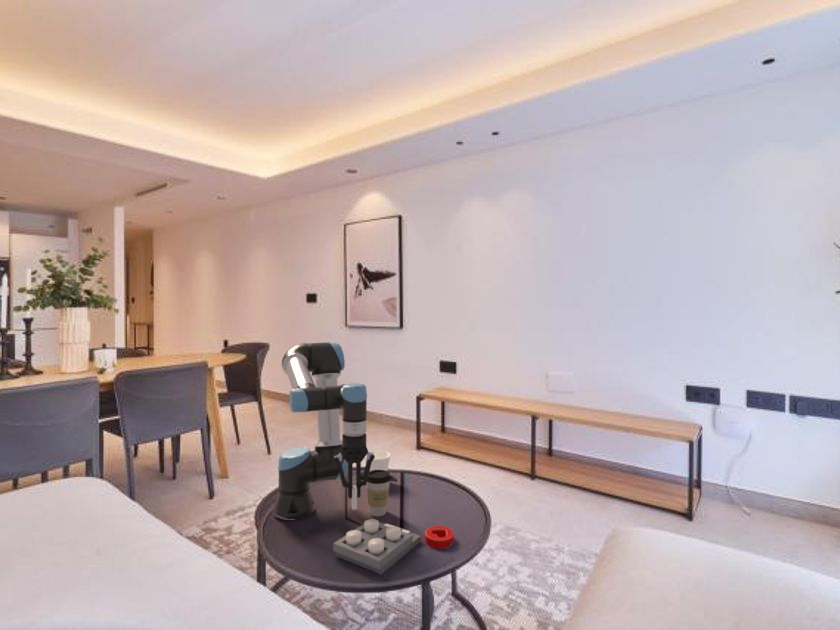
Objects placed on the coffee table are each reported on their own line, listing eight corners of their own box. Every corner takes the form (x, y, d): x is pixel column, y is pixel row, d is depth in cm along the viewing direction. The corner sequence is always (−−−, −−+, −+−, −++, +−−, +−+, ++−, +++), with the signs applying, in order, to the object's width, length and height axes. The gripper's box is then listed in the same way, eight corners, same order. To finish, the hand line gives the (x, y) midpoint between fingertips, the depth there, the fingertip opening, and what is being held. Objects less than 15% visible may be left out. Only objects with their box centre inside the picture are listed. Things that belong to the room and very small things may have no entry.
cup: (380, 490, 196) (380, 461, 195) (358, 483, 202) (358, 456, 201) (395, 480, 206) (395, 453, 205) (374, 475, 212) (374, 448, 212)
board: (333, 557, 144) (333, 543, 144) (378, 527, 163) (378, 514, 163) (378, 576, 134) (379, 561, 134) (420, 541, 154) (420, 528, 154)
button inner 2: (361, 532, 152) (361, 523, 152) (370, 526, 156) (370, 517, 156) (372, 536, 150) (372, 527, 149) (381, 530, 154) (381, 521, 154)
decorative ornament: (457, 538, 157) (457, 528, 157) (448, 552, 148) (448, 542, 148) (431, 532, 161) (431, 523, 161) (420, 545, 152) (420, 536, 152)
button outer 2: (382, 540, 147) (383, 531, 147) (391, 533, 151) (391, 524, 151) (395, 544, 145) (395, 535, 145) (403, 538, 149) (403, 528, 149)
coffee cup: (386, 519, 169) (387, 479, 169) (361, 517, 171) (361, 477, 170) (393, 508, 179) (393, 470, 178) (369, 505, 181) (369, 468, 180)
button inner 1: (342, 544, 145) (342, 535, 144) (352, 537, 149) (353, 528, 148) (354, 548, 142) (354, 539, 142) (364, 542, 146) (364, 532, 146)
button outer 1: (365, 553, 140) (365, 543, 140) (374, 546, 144) (374, 536, 144) (377, 557, 137) (377, 548, 137) (387, 550, 141) (387, 541, 141)
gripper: (333, 437, 139) (333, 514, 140) (376, 435, 142) (376, 510, 142) (333, 431, 146) (332, 504, 147) (373, 429, 149) (373, 500, 150)
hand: (354, 507), depth 145 cm, fingers closed
